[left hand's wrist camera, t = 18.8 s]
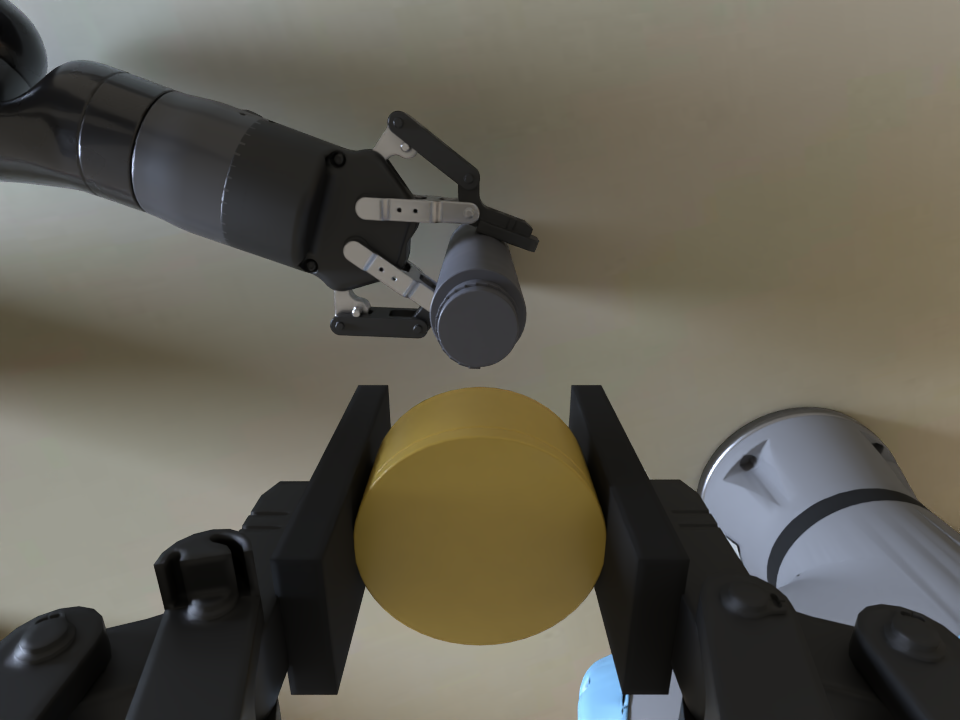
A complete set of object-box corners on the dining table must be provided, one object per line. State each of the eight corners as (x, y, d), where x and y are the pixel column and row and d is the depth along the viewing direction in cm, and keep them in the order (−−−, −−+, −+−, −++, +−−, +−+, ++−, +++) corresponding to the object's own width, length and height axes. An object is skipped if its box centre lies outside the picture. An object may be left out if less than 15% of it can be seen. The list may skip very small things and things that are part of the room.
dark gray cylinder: (450, 216, 39) (428, 273, 22) (510, 222, 40) (536, 283, 22) (446, 276, 41) (423, 373, 23) (504, 281, 41) (523, 381, 24)
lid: (614, 532, 13) (639, 603, 11) (427, 594, 14) (417, 672, 12) (542, 352, 12) (557, 397, 9) (335, 432, 12) (306, 490, 10)
